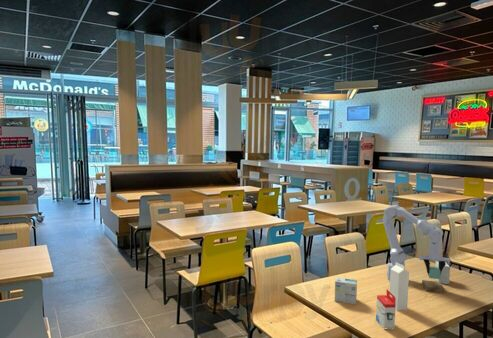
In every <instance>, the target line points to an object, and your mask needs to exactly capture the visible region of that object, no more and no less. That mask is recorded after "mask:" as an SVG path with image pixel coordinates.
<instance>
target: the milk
mask: <svg viewBox="0 0 493 338" xmlns="http://www.w3.org/2000/svg"><path fill="white" fill-rule="evenodd" d="M409 279H410V272H409V270H407V269H404V266H403V265H401V264H399V263H397V262H396V265H395V266H393V267H392V268H391V270H390V280H389V291H390V292H391V293H392V294H393V295H394V296H395V298H396V301H395V304H396V306H395V311H405V310H408V302H409V300H408V299H409V298H408V297H409V283H410V282H409V281H410V280H409ZM390 296H391V295H390ZM391 297H392V296H391Z"/></svg>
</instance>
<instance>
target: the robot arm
mask: <svg viewBox="0 0 493 338" xmlns="http://www.w3.org/2000/svg"><path fill="white" fill-rule="evenodd" d="M398 217H399V218H404V219H406V220H408V221H410V222H411V223H413V224H414V225H415V226H416V228H417V229H418V230H420V231H422V232H423V233H425V234H426V235H427V236H428V237H429V243H428V244H429V245H428V255H419V260H420V261H424V264H425V268H426V274H427V275H428V274H429V267H430V266H431V265H430V264H431V262H436V261H437V262H439V269H440V275H441V272H442V269H443V268H444V266H445V265H446V263H447V264H450V260H451V259H450V258H448V257H443V256H441V254H442V237H443V236H444V232H443V230H442V228H440V227H437V226H436V225H432V224H431V223H430V222H428V220H427V219H419V218H418V217H417V216H415V215H413V214H412V213H411V212H409V211H407V210H406V209H405V208H404V207H403V206H400V205H399V204H393V205H390V206H387V207H386V208H385V209H384V211H383V217H382V222H383V226H384V230H385V233H386V237H387V240H388V244H389V247H390V252H389V254H390V258H389V259H390V262H388V263H387V265H386V266H387V269H386V276H387V279H388V280H389V281H390V270H391V268H392V267H393V266H395V265H396V262H397V263H399V264H401V265H403V266H404V269H405V268H406V267H405V266H406V264H405V262H406V260H407V254H406V253H405V252H404V248H402V247H401V245H400V242H399V237H398V235H397V232H396V228H395V225H394V220H395V219H396V218H398ZM430 261H431V262H430ZM445 262H446V263H445ZM405 270H406V269H405Z"/></svg>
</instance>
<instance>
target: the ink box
mask: <svg viewBox="0 0 493 338" xmlns="http://www.w3.org/2000/svg"><path fill="white" fill-rule="evenodd" d="M390 295H391V296H392V297H391V296H390ZM395 301H396V298H395V296H394V295H393V294H392V293H391V292H390V290H388V289H386V295H385V294H383V295H381V294H378V295H376V309H375V310H376V311H375V321H376V322H377V321H378V322H377V323H378V324H379V325H380V327H381V328H382V327H383V328H387V330H392V329H391V328H394V329H395V323H396V322H395V320H396V310H395V306H396V304H395ZM383 328H382V329H383ZM389 328H390V329H389Z"/></svg>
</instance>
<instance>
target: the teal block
mask: <svg viewBox="0 0 493 338" xmlns="http://www.w3.org/2000/svg"><path fill="white" fill-rule="evenodd" d="M427 276H428V277H429V279H433V280H436V279H440V269H439V268H438V267H435V266H431V265H430V267H429V274H428V273H427Z"/></svg>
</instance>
